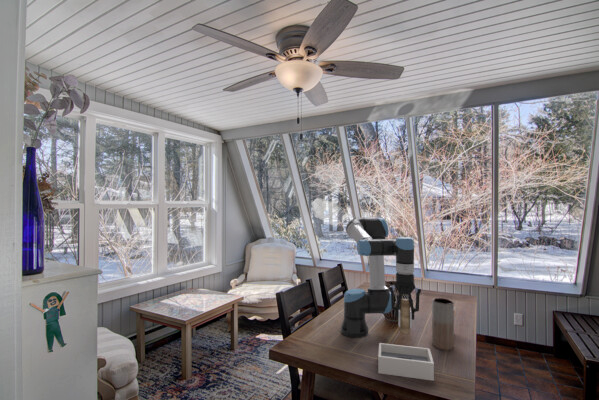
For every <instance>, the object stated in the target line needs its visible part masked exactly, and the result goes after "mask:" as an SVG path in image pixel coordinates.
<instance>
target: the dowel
mask: <svg viewBox="0 0 599 400" xmlns="http://www.w3.org/2000/svg"><path fill="white" fill-rule="evenodd" d="M399 310H400V327H399V332H400V333H401V334H404V335H409V334H410V333H411V331H410V330H411V328H410V311H411V307H410V302H409V298H401V302H400V307H399Z"/></svg>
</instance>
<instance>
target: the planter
mask: <svg viewBox="0 0 599 400" xmlns="http://www.w3.org/2000/svg"><path fill="white" fill-rule="evenodd" d="M431 301H432V302H431V306H432V307H431V311H432V313H431V315H432V317H431V321H432V323H431V329H432V330H431V337H432V339H431V340H432V341H431V342H432V345H433V347H435V348H437V349H439V350H444V351H448V350H453V349H454V347H455V342H454V341H455V329H454V328H455V313H454V308H455V305H454V304H455V302H454V301H453V300H451V299H448V298H442V297H436V298H433V299H432V300H431Z"/></svg>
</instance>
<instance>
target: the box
mask: <svg viewBox="0 0 599 400" xmlns="http://www.w3.org/2000/svg"><path fill="white" fill-rule="evenodd" d="M377 356H378V357H377V359H378V361H377V362H378V363H377V364H378V370H377V371H378V373H377V374H382V375H389V376H397V377H402V378H403V377H404V378H411V379H412V378H413V379H418V380H426V381H432V382H433V381H435V363H434V359H433V355H432V352H431V349H430V348H428V347H420V346H419V347H418V346H411V345H410V346H409V345H401V344H393V343H386V342H385V343H382V342H379V343H378V355H377Z"/></svg>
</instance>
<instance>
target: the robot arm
mask: <svg viewBox="0 0 599 400" xmlns="http://www.w3.org/2000/svg"><path fill="white" fill-rule="evenodd" d="M345 231H346V232H345V233H346V234H347V236H348V237H349V238H350V239H352V240H353V241H355V243H356V251H357V255H359V256H363V257H368V267H369V268H368V270H369V271H368V272H369V286H368V287H367V291H366V290H365V289H363V288H351V289H347V290H346V291H345V292H344V295H343V319H342V323H341V325H340V333H341V334H343V335H344V336H346V337H349V338H364V337H366V336H369V327H368V323H367V321H366V314H369V315H370V314H373V315H374V314H380V315H383V314H389V313H390V312H391V311H392V310H394V311H395V319H398V322H397V323H398V327H399V328H400V302H401V299H402V297H403V295H405V296H408V300H409V302H410V329H412V328H413V326H412V325H413V323H412V321H414V320H415V314H416V312H417V313H418V312H419V310H420V295H421V292H422V290H421V287H418V286H416V285H415V274H414V272H415V241H414V238H413V237H411V236H410V237H409V236H398V237H396V238H390V239H386V238H387V237H388V236H389V226H388V222H387V221H386V220H385V218H383V217H378V216H377V217H376V216H375V217H370V216H369V217H361V216H360V217H355V218H353V219H351V220H350V221H349V222H348V223H347V225H346V226H345ZM385 256H387V257H388V256H392V257H393V256H395V271H396V273H395V283H394V284H393V285H389V287H388V286H386V272H385ZM395 290H397V291H398V296H397V301H396V305H395V292H394V291H395ZM414 291H415V306H414V302H413V298H412V293H413V292H414Z"/></svg>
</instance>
